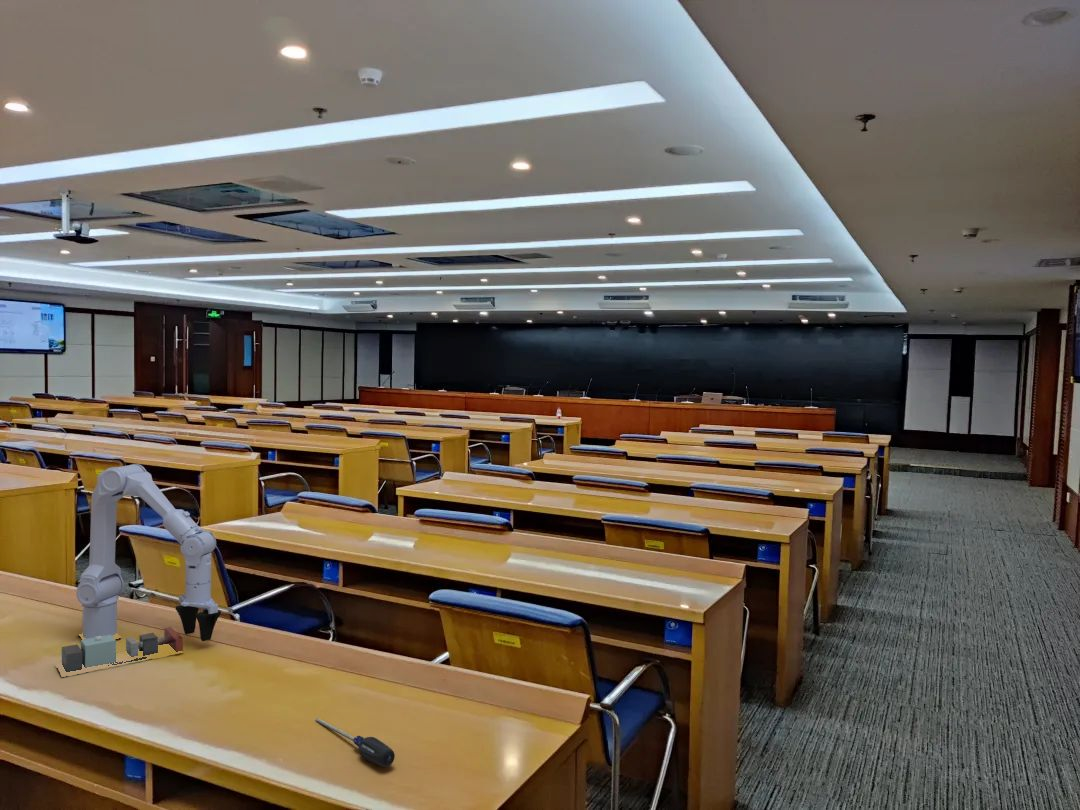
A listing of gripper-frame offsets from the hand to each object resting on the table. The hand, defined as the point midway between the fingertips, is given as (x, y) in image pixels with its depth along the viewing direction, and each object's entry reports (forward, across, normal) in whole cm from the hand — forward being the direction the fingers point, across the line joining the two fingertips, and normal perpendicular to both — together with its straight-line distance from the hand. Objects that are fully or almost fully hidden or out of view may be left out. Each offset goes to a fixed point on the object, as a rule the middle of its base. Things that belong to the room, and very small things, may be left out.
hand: (197, 636), depth 184 cm
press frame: (+2, -4, -17) cm, 18 cm away
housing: (+1, -5, -21) cm, 21 cm away
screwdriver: (+2, +69, -9) cm, 70 cm away
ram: (+1, -2, -10) cm, 10 cm away
